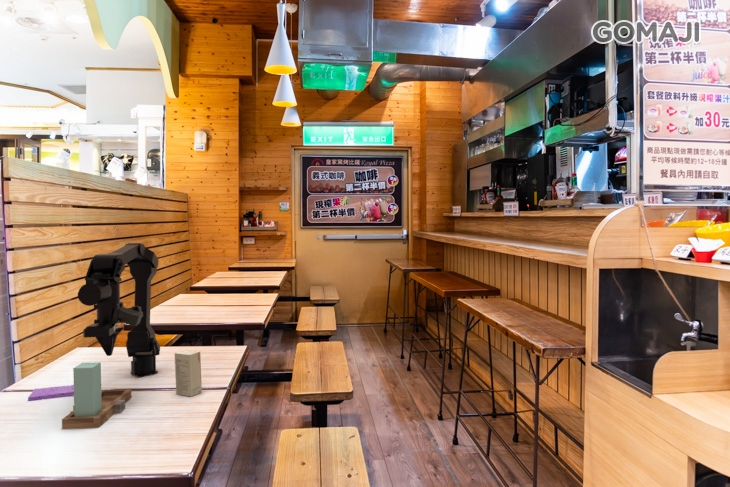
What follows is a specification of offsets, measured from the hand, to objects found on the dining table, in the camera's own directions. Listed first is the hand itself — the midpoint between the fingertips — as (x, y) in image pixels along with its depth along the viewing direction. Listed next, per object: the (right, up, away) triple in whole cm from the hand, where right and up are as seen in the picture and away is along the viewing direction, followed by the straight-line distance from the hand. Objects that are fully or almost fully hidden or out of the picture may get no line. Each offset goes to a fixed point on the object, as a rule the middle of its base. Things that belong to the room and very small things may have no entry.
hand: (109, 355), depth 129 cm
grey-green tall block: (+2, -12, -13) cm, 18 cm away
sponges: (-19, -13, +6) cm, 24 cm away
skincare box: (+20, -13, +7) cm, 24 cm away
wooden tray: (+1, -13, -7) cm, 15 cm away
